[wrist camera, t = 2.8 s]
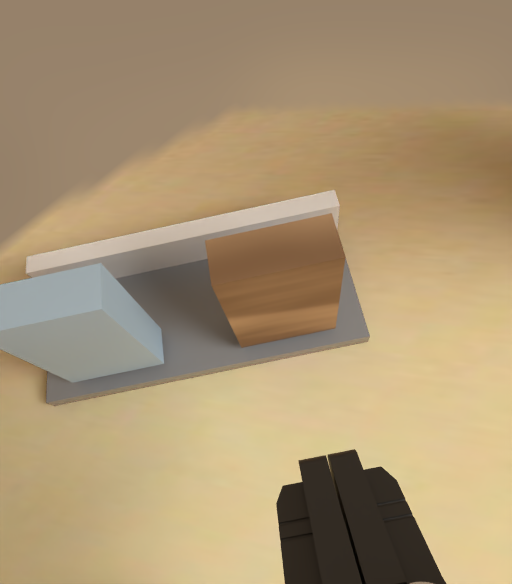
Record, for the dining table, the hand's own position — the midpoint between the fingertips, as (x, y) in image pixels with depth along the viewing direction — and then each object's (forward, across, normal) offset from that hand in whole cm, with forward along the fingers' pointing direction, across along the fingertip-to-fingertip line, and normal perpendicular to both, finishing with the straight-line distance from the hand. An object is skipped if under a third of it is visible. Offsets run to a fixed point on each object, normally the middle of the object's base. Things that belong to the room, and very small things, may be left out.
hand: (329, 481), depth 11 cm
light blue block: (+16, +11, +2) cm, 20 cm away
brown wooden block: (+16, 0, +2) cm, 17 cm away
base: (+19, +5, +2) cm, 20 cm away
